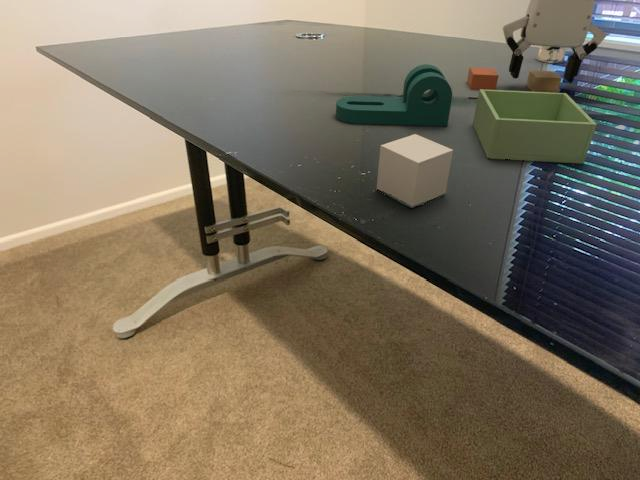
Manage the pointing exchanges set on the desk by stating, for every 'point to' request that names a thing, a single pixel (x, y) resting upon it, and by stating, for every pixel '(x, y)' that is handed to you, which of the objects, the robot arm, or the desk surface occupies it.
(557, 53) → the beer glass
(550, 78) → the maple block
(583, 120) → the basket
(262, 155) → the desk surface
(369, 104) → the bracket
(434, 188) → the white cube
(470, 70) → the terracotta block
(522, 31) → the robot arm
